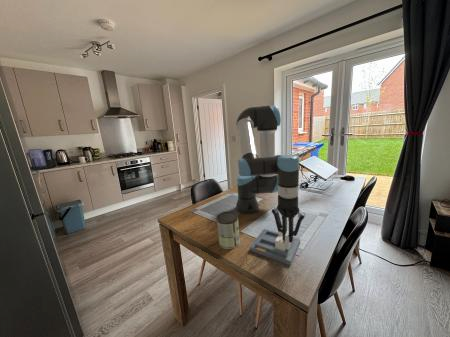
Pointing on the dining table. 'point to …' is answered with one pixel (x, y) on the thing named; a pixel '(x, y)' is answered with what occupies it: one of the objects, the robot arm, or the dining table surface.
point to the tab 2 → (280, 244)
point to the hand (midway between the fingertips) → (287, 247)
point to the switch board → (267, 247)
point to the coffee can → (228, 230)
